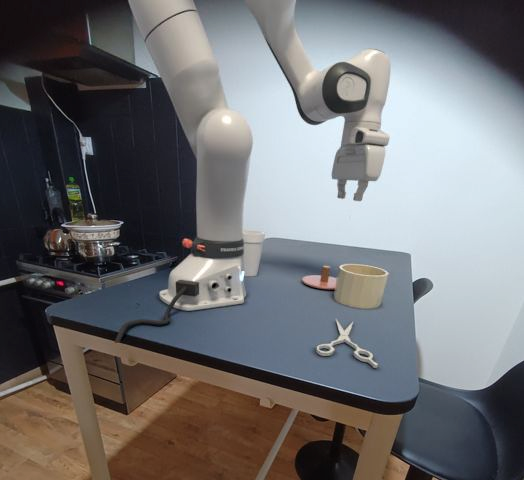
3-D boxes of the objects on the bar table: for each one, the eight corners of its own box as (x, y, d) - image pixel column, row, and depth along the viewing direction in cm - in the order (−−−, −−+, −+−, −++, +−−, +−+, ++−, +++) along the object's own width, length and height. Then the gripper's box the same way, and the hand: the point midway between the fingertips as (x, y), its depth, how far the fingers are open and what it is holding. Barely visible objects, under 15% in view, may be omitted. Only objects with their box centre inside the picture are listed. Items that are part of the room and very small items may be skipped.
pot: (364, 312, 79) (372, 278, 75) (324, 297, 87) (329, 267, 83) (389, 303, 87) (397, 272, 83) (350, 290, 95) (356, 262, 91)
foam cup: (263, 271, 108) (266, 231, 102) (260, 278, 100) (263, 235, 94) (235, 268, 109) (237, 228, 102) (230, 275, 100) (231, 232, 94)
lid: (327, 294, 91) (331, 274, 88) (292, 282, 99) (295, 264, 96) (354, 287, 99) (358, 269, 96) (320, 276, 107) (322, 259, 105)
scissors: (315, 355, 56) (321, 314, 73) (315, 358, 56) (320, 317, 73) (377, 365, 54) (368, 321, 71) (376, 369, 54) (367, 324, 72)
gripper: (330, 141, 87) (322, 196, 94) (369, 132, 70) (356, 201, 76) (351, 143, 89) (342, 197, 95) (394, 136, 71) (379, 203, 78)
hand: (348, 199), depth 86 cm, fingers open, 8 cm apart
